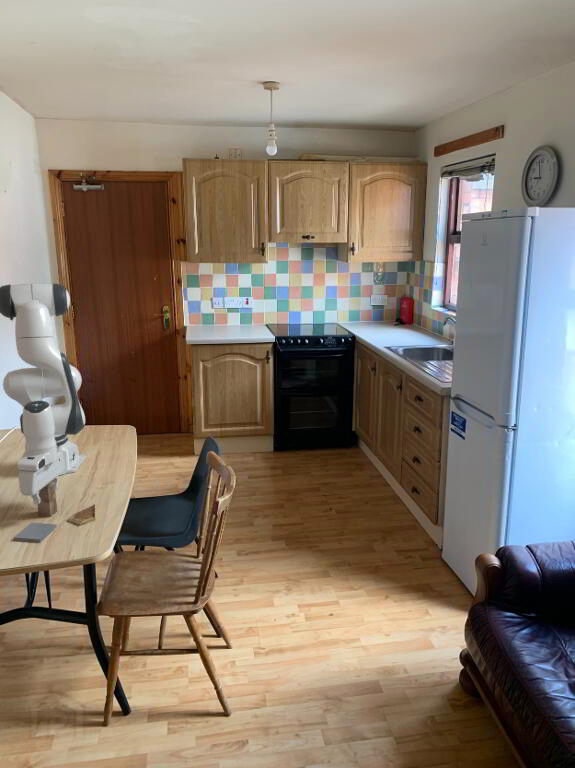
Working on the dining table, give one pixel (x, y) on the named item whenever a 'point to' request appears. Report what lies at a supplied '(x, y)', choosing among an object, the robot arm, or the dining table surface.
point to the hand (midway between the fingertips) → (46, 496)
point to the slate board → (35, 532)
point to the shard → (84, 516)
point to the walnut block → (47, 500)
